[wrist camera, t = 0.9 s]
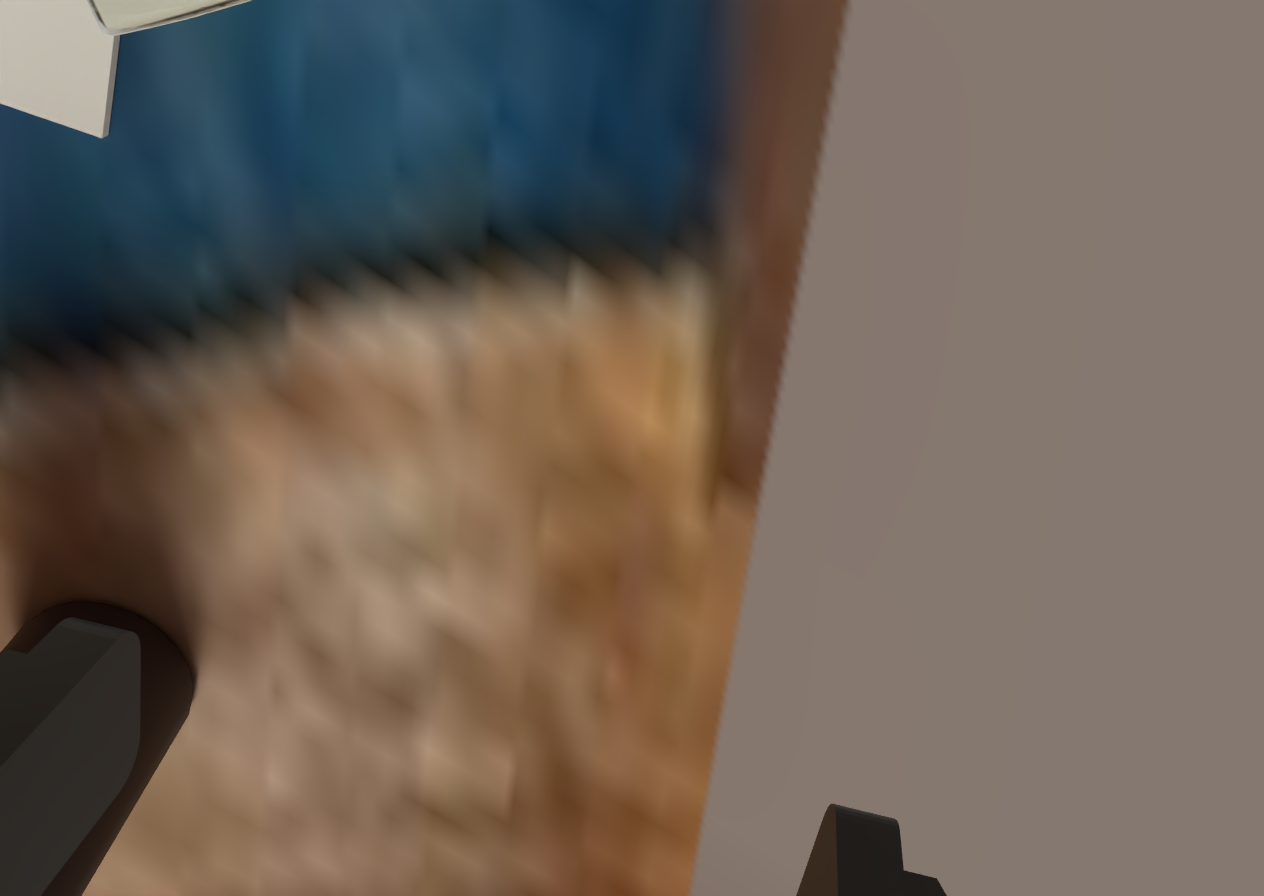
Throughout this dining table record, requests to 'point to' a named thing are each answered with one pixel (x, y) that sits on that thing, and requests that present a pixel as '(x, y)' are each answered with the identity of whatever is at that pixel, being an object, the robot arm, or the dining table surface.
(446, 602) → the dining table surface
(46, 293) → the dining table surface
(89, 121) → the mat
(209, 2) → the skincare box
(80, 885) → the vinegar
